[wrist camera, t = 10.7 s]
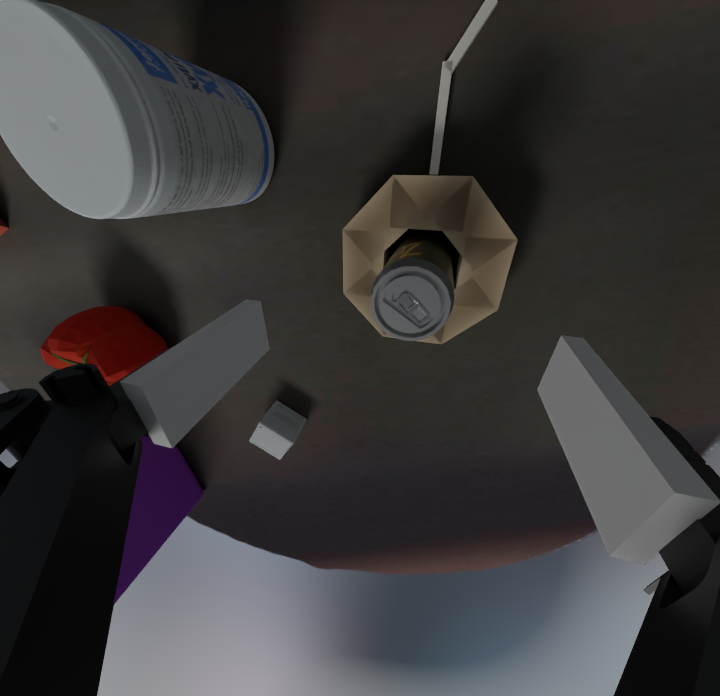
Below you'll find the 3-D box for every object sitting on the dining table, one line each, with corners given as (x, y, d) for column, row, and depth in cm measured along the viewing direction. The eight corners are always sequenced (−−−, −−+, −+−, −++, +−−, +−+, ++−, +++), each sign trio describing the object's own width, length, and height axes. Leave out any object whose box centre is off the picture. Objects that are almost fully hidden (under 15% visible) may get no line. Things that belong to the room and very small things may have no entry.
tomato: (192, 384, 46) (133, 431, 38) (124, 364, 48) (53, 404, 40) (173, 308, 39) (94, 345, 30) (94, 288, 41) (-1, 317, 32)
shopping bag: (161, 419, 54) (-82, 624, 29) (218, 492, 63) (70, 696, 38) (77, 424, 64) (-158, 579, 39) (136, 486, 73) (-23, 645, 49)
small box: (264, 418, 46) (247, 441, 42) (276, 398, 43) (259, 421, 39) (294, 437, 47) (280, 461, 43) (308, 418, 43) (294, 443, 39)
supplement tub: (272, 80, 24) (84, -27, 11) (283, 207, 28) (161, 229, 16) (174, 81, 25) (-80, -10, 13) (200, 200, 30) (34, 215, 18)
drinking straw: (450, 1, 19) (450, -3, 18) (498, -4, 18) (499, -8, 18) (429, 174, 24) (429, 174, 24) (466, 175, 23) (466, 175, 23)
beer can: (463, 260, 27) (474, 309, 17) (420, 297, 29) (407, 358, 19) (425, 217, 26) (411, 241, 16) (383, 259, 28) (350, 303, 19)
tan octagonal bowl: (353, 174, 25) (341, 174, 22) (523, 177, 22) (535, 177, 20) (353, 317, 33) (344, 331, 30) (482, 333, 30) (486, 350, 27)
